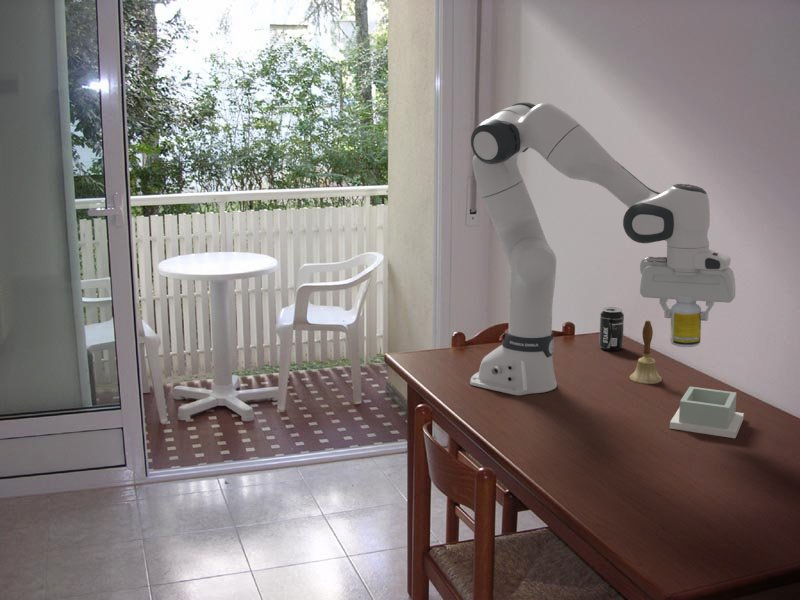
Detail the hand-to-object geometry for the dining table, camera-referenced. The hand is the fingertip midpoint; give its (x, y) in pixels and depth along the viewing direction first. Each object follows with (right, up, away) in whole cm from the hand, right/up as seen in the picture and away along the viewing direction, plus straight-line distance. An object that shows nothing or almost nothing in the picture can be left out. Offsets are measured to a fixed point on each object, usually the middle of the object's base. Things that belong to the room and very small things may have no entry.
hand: (686, 318), depth 197 cm
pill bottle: (0, -6, +2) cm, 6 cm away
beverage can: (-1, -10, +65) cm, 65 cm away
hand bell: (+1, -17, +36) cm, 40 cm away
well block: (+6, -24, +3) cm, 25 cm away
